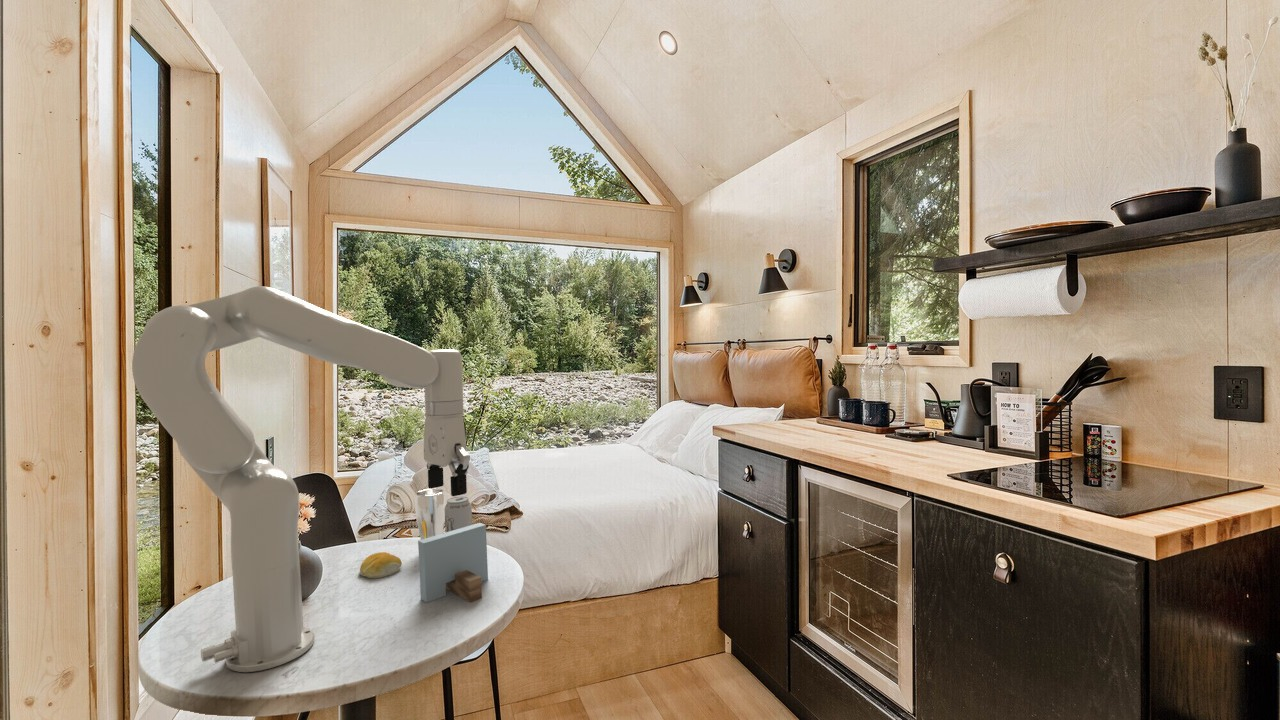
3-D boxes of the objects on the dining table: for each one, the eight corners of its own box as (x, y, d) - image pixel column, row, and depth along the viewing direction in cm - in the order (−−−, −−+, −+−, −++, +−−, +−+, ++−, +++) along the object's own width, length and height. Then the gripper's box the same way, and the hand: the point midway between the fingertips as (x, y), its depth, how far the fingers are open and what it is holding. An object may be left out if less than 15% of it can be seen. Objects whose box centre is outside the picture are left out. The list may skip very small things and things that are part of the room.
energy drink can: (441, 564, 133) (438, 500, 133) (463, 555, 138) (460, 494, 138) (457, 569, 130) (454, 504, 129) (479, 561, 134) (476, 498, 134)
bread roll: (388, 561, 137) (387, 545, 137) (407, 570, 131) (406, 553, 131) (352, 573, 130) (351, 555, 130) (371, 582, 125) (370, 564, 125)
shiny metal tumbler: (428, 559, 136) (425, 497, 136) (411, 553, 141) (408, 493, 140) (453, 550, 142) (450, 490, 141) (436, 544, 146) (434, 486, 146)
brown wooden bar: (481, 597, 115) (481, 576, 115) (470, 602, 113) (469, 581, 113) (442, 576, 126) (442, 557, 126) (431, 580, 124) (430, 561, 124)
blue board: (426, 602, 114) (423, 543, 113) (420, 599, 115) (418, 540, 115) (488, 579, 124) (485, 524, 124) (482, 576, 126) (479, 522, 125)
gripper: (408, 408, 122) (411, 487, 122) (448, 413, 110) (450, 502, 110) (441, 404, 127) (443, 481, 128) (482, 410, 115) (485, 494, 116)
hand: (447, 490), depth 119 cm, fingers open, 9 cm apart
